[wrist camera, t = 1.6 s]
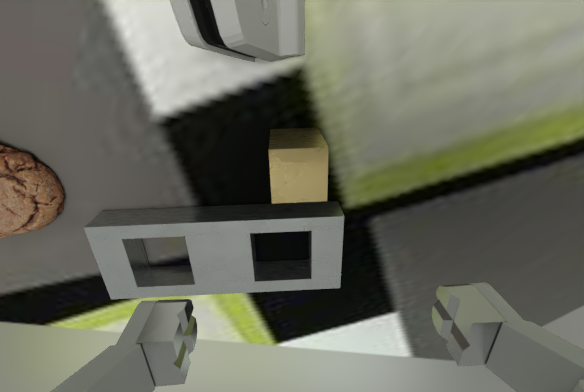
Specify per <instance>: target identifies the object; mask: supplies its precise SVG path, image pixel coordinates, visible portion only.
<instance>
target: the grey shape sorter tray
mask: <svg viewBox="0 0 584 392" xmlns="http://www.w3.org/2000/svg"><path fill="white" fill-rule="evenodd" d="M343 229H344V215H343V212H342V210H341V207H340V205H339V202H338V201H322V202H298V203H274V204H250V205H226V206H202V207H177V208H153V209H129V210H105V211H102V212H101V213H99V214H98V215H97V216H96V217H95V218H94V219H93V220H92V221H90V222H89V223H88V224H87V225H86V226H85V227H84V230H85V232H86V235H87V238H88V240H89V243H90V245H91V248H92V251H93V253H94V256H95V259H96V261H97V264H98V266H99V269H100V272H101V274H102V277H103V279H104V282H105V285H106V287H107V290H108V292H109V295H110V298H111V299H126V298H146V297H167V296H187V295H207V294H227V293H248V292H268V291H288V290H308V289H329V288H340V281H341V264H342V246H343ZM293 231H309V259H305V260H284V261H262V262H257V258H256V248H255V237H254V233H270V232H293ZM180 236H185V239H186V243H187V248H188V253H189V257H190V262H191V265H176V266H155V267H150V265H149V262H148V259H147V255H146V252H145V248H144V245H143V241H142V238H157V237H180Z"/></svg>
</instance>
